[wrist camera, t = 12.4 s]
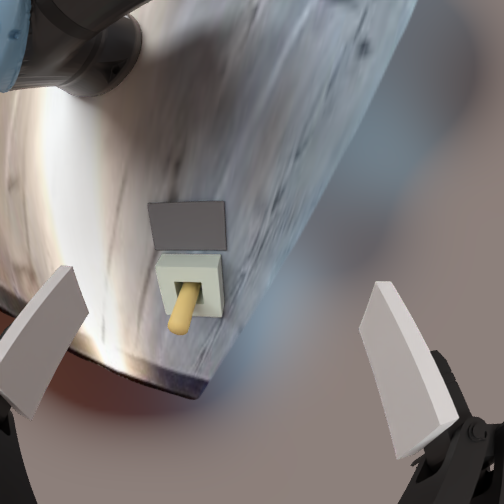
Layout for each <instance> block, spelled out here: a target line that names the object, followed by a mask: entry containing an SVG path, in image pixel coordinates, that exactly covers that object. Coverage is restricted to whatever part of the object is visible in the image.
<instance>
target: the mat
mask: <svg viewBox="0 0 504 504" xmlns="http://www.w3.org/2000/svg"><path fill="white" fill-rule="evenodd" d="M148 211H149V217H150V224H151V230H152V235H153V241H154V246H155V250H226V249H227V248H226V230H225V210H224V201H198V202H167V203H148Z"/></svg>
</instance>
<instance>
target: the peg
mask: <svg viewBox="0 0 504 504" xmlns="http://www.w3.org/2000/svg"><path fill="white" fill-rule="evenodd" d="M201 284H202V283H201V282H184V283H183V285H182V288H181V290H180V293H179V295H178V298H177V301H176V303H175V306H174V309H173V311H172V314H171V317H170V319H169V322H168V329H169V330H170V331H171V332H172V333H174V334H176V335H184V334H186V333H187V332H188V329H189V326H190V322H191V319H192V315H193V312H194V308H195V305H196V301H197V298H198V294H199V291H200V288H201Z"/></svg>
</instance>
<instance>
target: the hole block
mask: <svg viewBox="0 0 504 504" xmlns="http://www.w3.org/2000/svg"><path fill="white" fill-rule="evenodd" d="M155 269H156V274H157V278H158V283H159V287H160V291H161V296H162V300H163V304H164V308H165V312H166V315H171V314H172V311H173V309H174V306H175V303H176V301H177V298H178V295H179V293H180V290H181V288H182V285H183V283H182V282H201V283H202V290H200V291H199V294H198V298H197V301H196V305H195V308H194V312H193V315H192V316H202V317H222V315H223V308H224V291H223V278H222V265H221V254H162V255H161V257H160V259H159V260H158V262H157V264H156V265H155Z"/></svg>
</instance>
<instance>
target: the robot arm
mask: <svg viewBox="0 0 504 504" xmlns="http://www.w3.org/2000/svg"><path fill="white" fill-rule="evenodd" d="M150 1H151V0H0V92H2V93H5V92H8V91H12V90H19V89H27V88H37V87H50V86H57V87H58V88H60V89H62V90H64V91H66V92H67V93H69V94H71V95H74V96H79V97H89V96H97V95H101V94H103V93H106V92H108V91H110V90H111V89H113V88H114V87H116V86H117V85H118V84H119V83H120V82H121V81H122V80H123V79H124V78H125V77H126V76H127V75H128V74H129V72H130V71H131V69H132V68H133V66H134V64H135V62H136V60H137V58H138V55H139V52H140V48H141V42H142V35H141V29H140V26H139V24H138V22H137V21H136V19H135V18H134V17H133V16H132V15H130V14H129V13H130V12H132V11H134V10H135V9H137V8H139V7H141V6H142V5H144V4H146V3H148V2H150ZM88 314H89V311H88V309H87V306H86V304H85V301H84V298H83V296H82V293H81V290H80V288H79V285H78V282H77V279H76V276H75V273H74V270H73V267H72V266H60V267H59V268H58V269H57V270H56V271H55V272H54V273H53V275H52V276H51V277H50V278H49V279H48V280H47V281H46V282H45V284H44V285H43V286H42V287H41V288H40V289H39V291H38V292H37V293H36V294H35V295H34V297H33V298H32V299H31V300H30V302H29V303H28V304H27V305H26V307H25V308H24V309H23V310H22V312H21V313H20V314H19V315H18V317H17V318H16V319H15V321H14V322H13V323H12V324H10V325H9V326H8V327H7V328H6V329H5V330H4V331H3V333H2V334H1V336H0V504H37V501H36V499H35V496H34V494H33V491H32V488H31V485H30V482H29V479H28V476H27V473H26V470H25V466H24V463H23V459H22V455H21V452H20V447H19V443H18V438H17V433H16V429H15V423H14V417H13V414H12V412H11V411H10V408H11V406H12V407H13V408H14V409H15V410H16V411H17V412H18V413H19V414H20V415H22V416H23V417H25V418H27V419H29V420H31V421H32V418H33V416H34V414H35V412H36V409H37V407H38V405H39V403H40V401H41V399H42V397H43V394H44V392H45V390H46V388H47V386H48V384H49V382H50V380H51V378H52V376H53V375H54V373H55V371H56V369H57V367H58V365H59V363H60V361H61V359H62V358H63V356H64V354H65V352H66V350H67V349H68V347H69V345H70V343H71V342H72V340H73V338H74V337H75V335H76V333H77V332H78V330H79V328H80V327H81V325H82V323H83V322H84V320H85V318H86V317H87V315H88ZM359 332H360V335H361V338H362V341H363V344H364V346H365V350H366V353H367V355H368V359H369V362H370V365H371V368H372V371H373V374H374V377H375V381H376V384H377V387H378V390H379V394H380V397H381V401H382V404H383V408H384V411H385V415H386V418H387V422H388V426H389V430H390V434H391V438H392V441H393V446H394V450H395V454H396V458H397V459H401V458H404V457H408V456H411V455H414V454H416V453H417V452H419V451H420V450H421V449H423V448H424V451H425V454H424V455H422V456H421V457H419V458H418V459H416V460H415V461H414V462H413V463H412V464H411V466H414V465H416V464H417V463H419V464H418V466H417V467H416V471H415V472H414V475H413V476H412V478H411V481H410V482H409V484H408V486H407V488H406V490H405V492H404V494H403V495H402V497H401V499H400V501H399V502H398V504H504V422H503V423H502V424H486V423H485V421H484V420H482V419H481V418H479V417H473V416H472V415H471V413H470V411H469V408H468V406H467V404H466V402H465V399H464V397H463V394H462V392H461V390H460V388H459V385H458V383H457V382H456V381H455V380H456V379H455V377H454V375H453V373H451V369H450V367H449V365H448V363H447V361H446V359H445V358H444V357H443V356H442V355H441V354H440V353H439V352H438V351H437V350H435V351H429V349H428V347H427V345H426V343H425V341H424V339H423V337H422V335H421V333H420V331H419V330H418V328H417V326H416V324H415V322H414V321H413V319H412V317H411V315H410V313H409V311H408V310H407V308H406V306H405V304H404V303H403V301H402V299H401V297H400V296H399V294H398V292H397V291H396V289H395V287H394V286H393V284H392V282H380V281H379V282H377V281H376V282H375V285H374V288H373V291H372V294H371V296H370V299H369V302H368V305H367V308H366V310H365V313H364V316H363V319H362V321H361V324H360V326H359ZM493 463H494V470H492V471H490V465H492V464H493Z"/></svg>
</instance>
